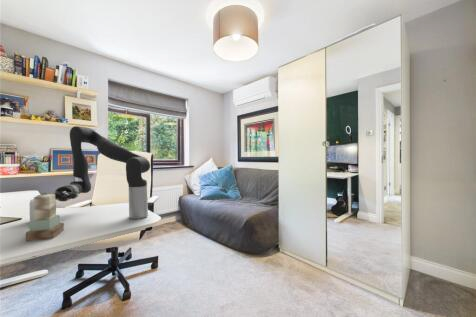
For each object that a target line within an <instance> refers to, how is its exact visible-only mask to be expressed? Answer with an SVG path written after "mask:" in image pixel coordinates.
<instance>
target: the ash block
mask: <svg viewBox="0 0 476 317" xmlns="http://www.w3.org/2000/svg"><path fill="white" fill-rule="evenodd" d="M42 194H43V195H41V194H38V195H36V196H34V197H33V199H34V207H35V221H38V220H49V219H51V218H53V217H55V216H56V215H57V206H56V207H55V194H48V193H47V194H44V193H42Z"/></svg>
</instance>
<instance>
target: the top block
mask: <svg viewBox="0 0 476 317" xmlns="http://www.w3.org/2000/svg"><path fill="white" fill-rule="evenodd" d="M60 218H61V217H60V214H56V216H55V217H53V218H51V219H49V220H38V221H35V219H34V220H32V221H30V220H29V222H28V226H29V227H28V228H29V230H28V231H39V230H50V229H52V228H53V227H55V226H57V225H59V224H60V223H61V222H60Z"/></svg>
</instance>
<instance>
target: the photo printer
mask: <svg viewBox="0 0 476 317" xmlns="http://www.w3.org/2000/svg"><path fill="white" fill-rule="evenodd" d="M55 207H56V208H57V200H55ZM34 219H35V207H34V198H32V199H30V200H29V222H30V221H32V220H34Z"/></svg>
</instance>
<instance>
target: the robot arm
mask: <svg viewBox="0 0 476 317" xmlns="http://www.w3.org/2000/svg"><path fill="white" fill-rule="evenodd" d="M69 142H70V147H71V153H72V160H73V163H72V164H73V166H72V167H73V168H72V172H73V173H72V175H73V176H72V177H74V178H78V179H81V181H80V180H79V181H77V180H75V181H71V182H70V183H69V184H65V185H63V186H60V187H57V189H56V190H55V191H52V192H47V193H46V192H44V193H41V194H40V195H43V194H55V200H56V201H58V202H67V201H70V200H74V199H76V198H78V197H79V195H80V194H87V193H89V192H90V191H91V190H92V183H91V181H90V178H89V162H88V160H87V157H86V156H85V153H84V152H83V150H82V143H83V144H84V143H86V144H91V145H93V146H95V147H96V149H97V151H98V152H99V154H101V155H103V156H104V157H106V158H108V159H110V160H113V161H116V162H120V163H125V175H126V176H125V177H126V182H127V184H128V186H127V187H128V217H129V218H128V219H131V220H140V219H143V218H147V217H148V215H149V205H148V204H149V199H148V181H147V180H146V179H144V178H143V177H142V174H143V173H147V172H148V171H149V170H150V168H151V163H150V161H149V160H148V159H147V158H146V157H144V156H142V155H139V154H137V153H134V152H132V151H131V150H128V149H127V148H126V147H123V146H122V145H119V144H118V143H116V142H115V141H113V140H111V139H109V138H106V137H104V136H102V135H101V134H100V133H98V132H96V130H94V129H92V128H90V127H86V126H76V125H75V126H72V127H71V128H70V130H69Z"/></svg>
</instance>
